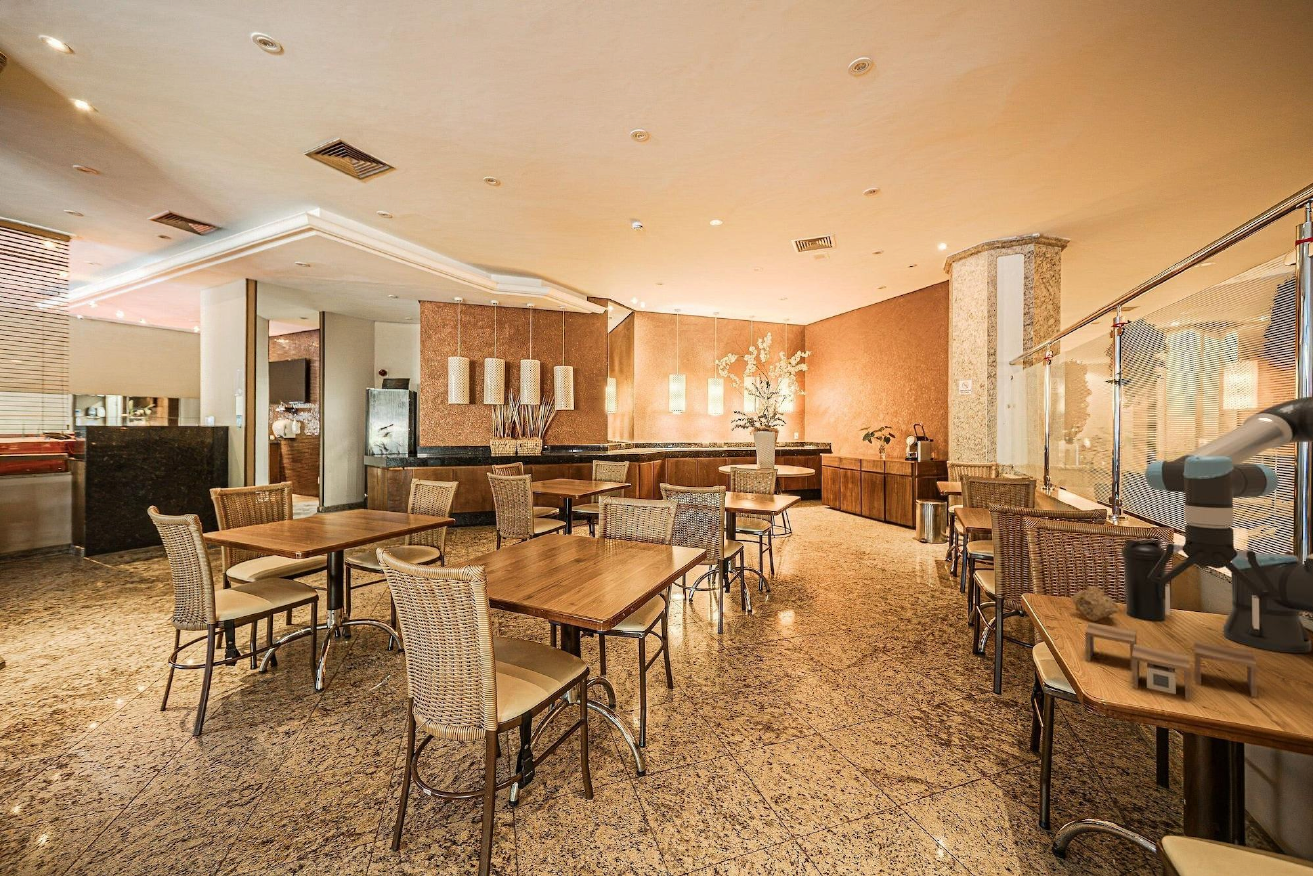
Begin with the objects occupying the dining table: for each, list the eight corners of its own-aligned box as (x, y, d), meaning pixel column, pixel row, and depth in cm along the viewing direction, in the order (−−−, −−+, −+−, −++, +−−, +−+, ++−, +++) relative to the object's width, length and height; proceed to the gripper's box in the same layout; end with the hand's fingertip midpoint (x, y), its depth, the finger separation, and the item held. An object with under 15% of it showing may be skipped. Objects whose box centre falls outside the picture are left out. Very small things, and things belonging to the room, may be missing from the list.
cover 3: (1194, 671, 124) (1194, 640, 124) (1252, 682, 117) (1251, 651, 117) (1195, 684, 117) (1195, 652, 117) (1257, 697, 111) (1256, 664, 111)
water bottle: (1178, 623, 154) (1176, 544, 154) (1137, 621, 156) (1135, 543, 156) (1153, 612, 164) (1151, 537, 164) (1115, 610, 166) (1113, 537, 166)
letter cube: (1147, 681, 120) (1147, 660, 120) (1175, 687, 116) (1175, 666, 116) (1146, 688, 116) (1146, 667, 116) (1175, 694, 113) (1175, 673, 113)
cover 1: (1089, 649, 137) (1089, 622, 137) (1136, 659, 131) (1136, 630, 131) (1085, 660, 130) (1085, 632, 130) (1135, 671, 124) (1134, 641, 124)
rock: (1066, 614, 164) (1065, 581, 164) (1098, 612, 165) (1097, 580, 165) (1101, 627, 152) (1100, 592, 152) (1135, 626, 153) (1134, 591, 153)
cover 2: (1134, 674, 123) (1134, 644, 123) (1189, 686, 116) (1189, 654, 116) (1132, 688, 116) (1132, 656, 116) (1191, 701, 110) (1190, 667, 110)
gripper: (1292, 528, 113) (1293, 628, 113) (1134, 518, 130) (1135, 604, 130) (1298, 533, 108) (1300, 638, 108) (1133, 521, 125) (1134, 612, 125)
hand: (1210, 620), depth 119 cm, fingers open, 13 cm apart
